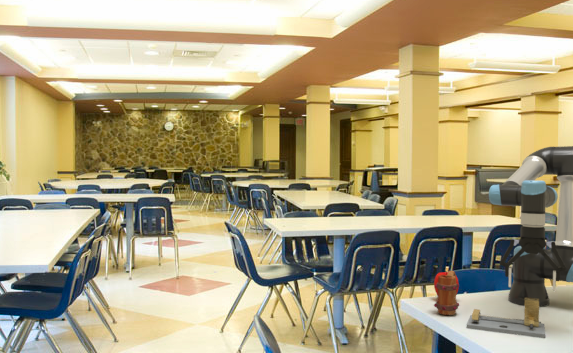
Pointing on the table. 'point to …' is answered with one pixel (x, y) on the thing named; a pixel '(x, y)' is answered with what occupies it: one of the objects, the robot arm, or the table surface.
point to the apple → (437, 281)
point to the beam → (494, 318)
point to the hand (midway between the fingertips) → (531, 288)
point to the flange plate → (506, 327)
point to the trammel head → (531, 312)
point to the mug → (447, 294)
